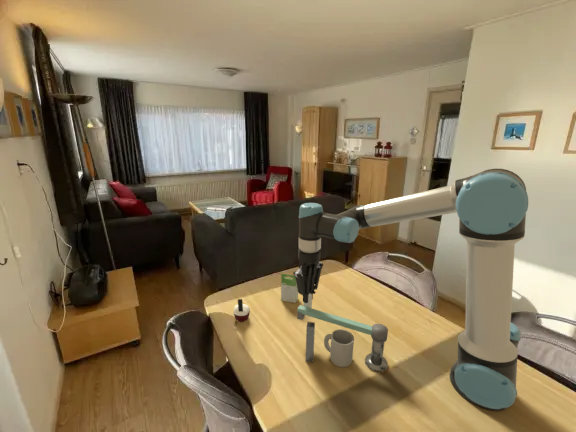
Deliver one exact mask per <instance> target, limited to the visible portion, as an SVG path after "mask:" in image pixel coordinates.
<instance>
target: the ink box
mask: <svg viewBox="0 0 576 432" xmlns="http://www.w3.org/2000/svg"><path fill="white" fill-rule="evenodd" d="M280 275H281V277H280V279H281V281H280V301H283V302H288V303H294V304H295V303H297V301H298V299H299V293H298V288H297V283H296V278H295V276H294V274H286V273H281V274H280Z"/></svg>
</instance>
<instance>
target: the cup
mask: <svg viewBox="0 0 576 432" xmlns="http://www.w3.org/2000/svg"><path fill="white" fill-rule="evenodd" d="M329 341H330V343H329ZM354 341H355V336H354V334H352V332H350V331H349V330H346V329H339V328H338V329H336V330H333V331H332V333H328V334H326V335H325V336H324V338H323V345H324V348H325V349H326V350H327V352H329V353H330V355H329V358H330V361H331V362H332V363H333V364H334V365H335V366H336V367H339V368H347V367H349V366H351V364H352V362H353V357H354V356H353V355H354V343H355V342H354Z"/></svg>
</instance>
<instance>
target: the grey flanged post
mask: <svg viewBox="0 0 576 432" xmlns="http://www.w3.org/2000/svg"><path fill="white" fill-rule="evenodd" d="M384 349H385V342H383V343H380V342H376V341H374V340H373V339H372V342H371V351H370V352H371V353H368V354H366V356H365V358H364V364H365V366H366V367H367V368H368V369H369V370H371V371H373V372H377V373H381V372H385V371H386V370H387V368H388V360H387V359H386V357H384V351H385V350H384Z"/></svg>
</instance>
